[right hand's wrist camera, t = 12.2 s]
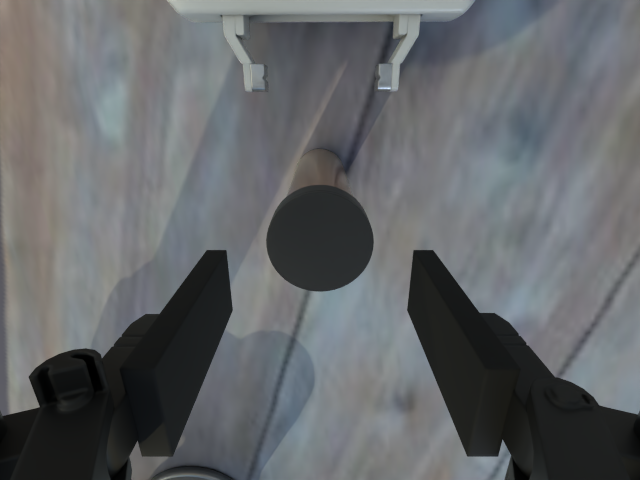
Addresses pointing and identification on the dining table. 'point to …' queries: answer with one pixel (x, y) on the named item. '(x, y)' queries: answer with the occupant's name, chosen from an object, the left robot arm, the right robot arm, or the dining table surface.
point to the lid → (319, 238)
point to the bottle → (319, 171)
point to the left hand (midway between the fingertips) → (321, 91)
